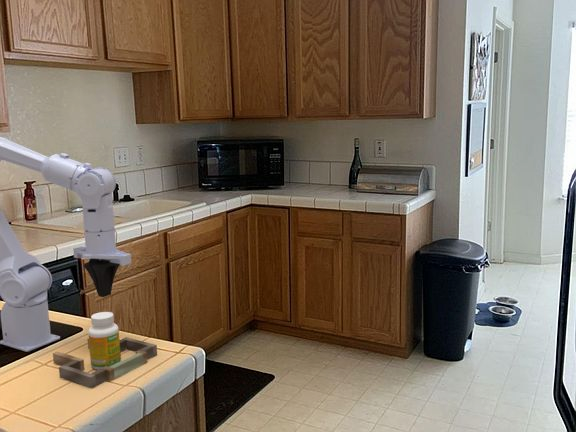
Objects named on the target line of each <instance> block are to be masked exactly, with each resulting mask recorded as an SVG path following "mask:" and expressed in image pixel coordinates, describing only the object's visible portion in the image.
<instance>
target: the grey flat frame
mask: <svg viewBox="0 0 576 432" xmlns="http://www.w3.org/2000/svg"><path fill="white" fill-rule="evenodd" d="M86 340H87V348H88V349H89V350H90V347H89V337H88V338H87V339H86ZM119 340H120V354H121V353H122V352H124V351H132V352H134V353H135V354H133V355H131V356H129V357H126V358H125V359H122V360H121V361H120V362H118V363H116V364H114V365H112V366H110V367H108V366H105V367H103V368H101V369H99V370H95V371H93V372H91V373H90V372H87V371H84V370H86V369H85V359H84V358H80V357H77V356H74V355H70V354H67V353H64V352H61V351H55V352H52V358H53V361H52V362H53V364H54V365H59V366H58V371H59V372H58V374H59V379H63V380H65V381H68V382H70V383H71V382H72V383H74V384H77V385H81V386H84V387H86V388H89V389H93V388H95V387H97V386H99V385H101V384H102V383H103V384H104V383H105V382H106V381H109V382H111V381H113V380H116V379H118V378H119V377H122V376H123V375H125V374H127V373H129V372H131V371H134V370H135V369H137V368H139V367H141V366H143V365H144V364H146V363H148V360H149V359H152V358H154V357H155V356H157V355H158V346H157V344H153V343H150V342H147V341H142V340H138V339H134V338H130V337H128V336H127V337H123V338H121V339H119Z"/></svg>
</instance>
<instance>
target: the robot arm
mask: <svg viewBox="0 0 576 432" xmlns="http://www.w3.org/2000/svg"><path fill="white" fill-rule="evenodd" d="M1 161H5V162H8V163H12V164H15V165H17V166H20V167H24V168H26V169H29V170H33V171H36V172H39V173H41V175H42V177H43V179H44V180H45V181H46V182H48V183H50V184H53V185H56V186H59V187H62V188H63V189H64V188H65V189H67V190H70V191H73V192H75V193H76V194H77V196H78V197H79V198H80V201H81V206H82V207H81V208H82V216H83V217H82V219H83V229H84V243H85V245H84V246H79V247H75V248H73V258H74V259H79V258H82V259H84V260H88V262H86V263H84V265H83V267H84V269H85V270H86V271H87V273H88V274H89V276H90V278H91V280H92V282H93V285H94V287H95V290H96V293H97V295H98V297H101V298H106V297H108V296H110V295H112V290H113V284H114V280H115V277H116V273H117V271H118V269H119V267H120V266H123V267H124V266H127V265H131V264H132V254H131V253H126V252H125V251H122V250H119V249H118V248H117V243H116V231H115V229H116V228H115V219H114V218H115V216H114V203H113V194H112V193H113V192H115V189H116V185H117V182H116V177H115V175H114V174H113V172H111V170H109V169H107V168H106V167H104V166H103V167H102V166H100V167H99V166H98V167H95V168H93V167H92V163H90V162H85V163H83V162H80V161H77V160H75V159H72V158H70V154H67V153H65V152H61V153H59V154H58V153H55V154H52V155H50V156H46V155H44V154H42V153H40V152H37V151H35V150H32V149H30V148H28V147H26V146H23V145H21V144H19V143H16V142H14V141H12V140H9V139H8V138H6V137H2V136H0V162H1ZM52 283H53V276H52V273H51V272H50V271H49V269H48V268H47V267H45V266H44V265H43V264H42V263H41V262H40V261H39V259H38V258H37V257H36V256H35V255H32V254H31V253H28V252H26V251H25V249H24V247H23V246H22V244H21V242H20V241H19V238H18V237H17V235H16V233H15V232H14V230H13V227H11V225H10V224H9V222H8V219H7V217H6V216H5V215H4V212H3V211H2V209H1V208H0V297H1V299H2V300H3V302H4V303H3V305H2V307H1V309H0V322H1V330H2V338H3V339H1V340H0V345H4V346H5V347H10V348H13V349H16V350H18V351H19V350H20V351H23V352H31V351H33V350H36V349H38V348H40V347H43V346H45V345H48V344H50V343H52V342H56V341H58V340H60V339H61V336H60V335H56V334H54V333H51V324H50V314H49V304H48V303H49V302H48V290H49V289H50V288H51V287H52Z"/></svg>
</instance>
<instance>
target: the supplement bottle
mask: <svg viewBox="0 0 576 432" xmlns="http://www.w3.org/2000/svg"><path fill="white" fill-rule="evenodd" d="M90 321H91V326H90V327H89V328H88V331H87V332H88V335H87V336H88V338H89V347H90V349H89V355H90V356H89V357H90V365H91V368H92V369H94V370H95V371H97V370H99V369H101V368H103V367H105V366H108V367H110V366H112V365H114V364H116V363H118V362H120V361H122V355H121V353H120V340H121V339H120V331H119V329H120V328H119V326H118V325H117V324H116V323H115V316H114V313H113V312H111V311H100V312H97V313H93V314H92V315H91V316H90Z"/></svg>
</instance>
